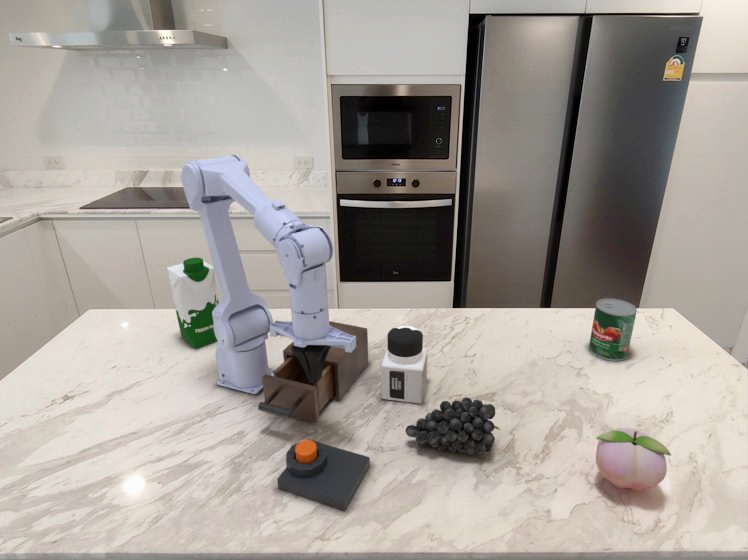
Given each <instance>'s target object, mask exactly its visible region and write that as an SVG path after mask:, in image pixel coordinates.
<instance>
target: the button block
mask: <svg viewBox="0 0 748 560" xmlns="http://www.w3.org/2000/svg"><path fill="white" fill-rule="evenodd" d="M307 440H311V441H313V442H315V444H316V446H317V458H316V460H315V461H313V462H311V463H308V464H302V463H299V462H298V461H297V460H296V452H295V447H296V445H297V444H298V443H299V442H297V443H295V444H292V445H291V446H290V448H289V449H288V450H287V452H286V454H285V463H286V467H285V468H284V470H282V473H281V474H280V475H279V476H278V477H277V479H276V481H277V488H278V490H282V491H283V492H287V493H290V494H293V495H296V496H298V497H302V498H305V499H307V500H310V501H313V502H317V503H319V504H322V505H326V506H329V507H331V508H334V509H337V510H340V511H342V512H346V510H347V508H348V506H349V504H350V503H351V500H352V499H353V497H354V495H355V493H356V492H357V490H358V488H359V486H360V485H361V483H362V481H363V479H364V477H365V476H366V475H367V472H368V470H369V469H370V466H371V464H370V462H371V461H370V456H366V455H365V454H359V453H356V452H354V451H349V450H347V449H343V448H339V447H337V446H333V445H329V444H325V443H322V442H320V441H316V440H312V439H307Z"/></svg>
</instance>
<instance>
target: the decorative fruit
mask: <svg viewBox="0 0 748 560" xmlns="http://www.w3.org/2000/svg"><path fill="white" fill-rule="evenodd" d="M596 440H598V441H597V446H596V451H595V463H596V467H597V469H598V471H599V472H600V474H601V475H602V476H603V477H604V478H605V479H606V480H607V481H608V482H609V483H611V484H612V485H614V486H616V487H617V488H620V489H630V490H632V491H645V490H648V489H651V488H654V487H656V486H658V485H659V484H661V483H662V482H663V481H664V480H665V478H666V475H667V471H668V470H667V469H668V468H667V459H666V456H672V454H671V452H670V451H669V449H668V448H667V447H666V446H665V445H664V444H663V443H661V442H660V441H659V440H657V439H655V438H654V437H650V436H649V435H647V434H646V433H644V432H642V431H640V430H637V429H633V428H628V427H627V428H626V427H619V428H613V429H610V430H608V431H606V432H603V433H602V434H600V435H599V436H597V437H596ZM665 455H666V456H665Z"/></svg>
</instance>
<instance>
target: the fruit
mask: <svg viewBox="0 0 748 560" xmlns="http://www.w3.org/2000/svg"><path fill="white" fill-rule="evenodd" d="M495 416H496V407H495V406H494V405H493V404H492V403H491V404H490V403H488V404H487V403H483V401H482V400H479V399H474V400H472V399H471V398H470V397H463V398H462V399H461V401H460V400H454V401H452V403H451V402H449V400H443V401H442V402H441V403H440V404H439V409H437V408H435V409H433V410H432V411H431V412H427V413H426V415H425V417H424V418H419V419H417V421H416V424H414V425H413V424H410V425H407V426H406V428H405V434H406V435H407V437H410V438H415V443H416V445H418V446H419V447H421V448H422V447H425V446H426V445H430V447H433V448H437V449H438V451H440V452H446V451H447V449H449V451H450V452H452V453H455V452H457V451H458V452H459V453H461V454H468V455H470V456H471V455H474V454H475V453H477V454H479V455H481V454H484V453H490V452H492V450H493V446H494V443H495V439H496V438H495V436H494V434H493V433H492V432H494V430H495V429H496V430H499V431H500V430H501V429H500V427H499V426H497V425H495V424H494V422H493V421H492V420H493V418H495Z"/></svg>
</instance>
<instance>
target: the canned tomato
mask: <svg viewBox="0 0 748 560" xmlns="http://www.w3.org/2000/svg"><path fill="white" fill-rule="evenodd" d="M637 313H638V308H637V307H636V306H635V305H634V304H632V303H630V302H628V301H627V300H622V299H618V298H608V297H607V298H601V299H598V300H597V301H596V303H595V309H594V315H593V320H592V327H591V332H590V338H589V345H588V350H589V352H590V353H591V354H592V355H594V356H595V357H597V358H598V359H599V358H600V359H602V360H605V361H610V362H622V361H624V360H626V359H627V358H628V356H629V350H630V345H631V341H632V336H633V331H634V326H635V322H636V315H637Z"/></svg>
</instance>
